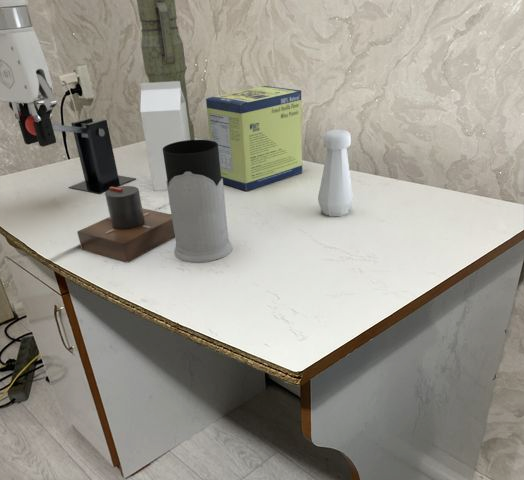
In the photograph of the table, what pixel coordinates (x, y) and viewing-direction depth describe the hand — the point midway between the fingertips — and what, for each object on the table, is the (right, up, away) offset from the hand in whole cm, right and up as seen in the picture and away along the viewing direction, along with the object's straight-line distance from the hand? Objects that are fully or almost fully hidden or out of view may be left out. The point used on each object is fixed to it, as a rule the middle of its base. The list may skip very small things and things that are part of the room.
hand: (40, 142), depth 94 cm
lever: (+3, +2, +4) cm, 5 cm away
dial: (+18, -17, -11) cm, 27 cm away
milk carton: (+22, -5, +12) cm, 25 cm away
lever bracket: (+7, -4, +14) cm, 16 cm away
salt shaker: (+51, -13, -3) cm, 53 cm away
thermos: (+19, +9, +32) cm, 38 cm away
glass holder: (+30, -20, -11) cm, 38 cm away
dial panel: (+18, -19, -9) cm, 28 cm away
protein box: (+38, -1, +15) cm, 41 cm away
